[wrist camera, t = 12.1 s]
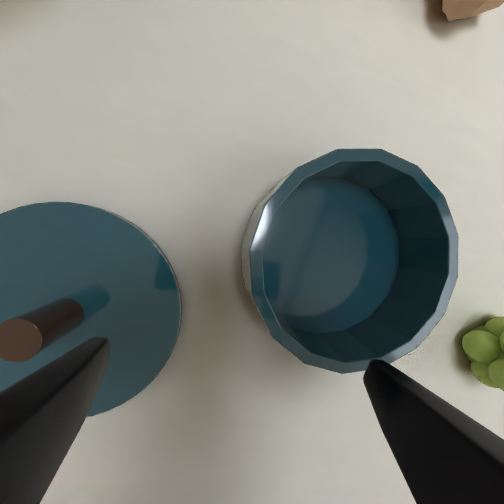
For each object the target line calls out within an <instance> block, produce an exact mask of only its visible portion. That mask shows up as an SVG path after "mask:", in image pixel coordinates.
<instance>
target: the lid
mask: <svg viewBox="0 0 504 504" xmlns="http://www.w3.org/2000/svg"><path fill="white" fill-rule="evenodd" d="M180 321H181V298H180V292H179V287H178V284H177V280H176V277H175V275H174V272H173V270H172V268H171V266H170V264H169V262H168V260H167V259H166V257H165V256H164V254H163V252H162V251H161V250H160V249H159V248H158V246H157V245H156V244H155V243H154V241H153V240H151V239H150V238H149V237H148V236H147V235H146V234H145V233H144V232H143V231H142V230H140V229H139V228H137V227H136V226H135V225H133V224H132V223H130V222H129V221H127V220H125V219H123V218H121V217H120V216H118V215H115V214H113V213H110V212H108V211H105V210H103V209H99V208H95V207H92V206H88V205H83V204H76V203H69V202H48V203H37V204H32V205H27V206H23V207H18V208H16V209H13V210H10V211H7V212H4V213H2V214H0V392H1V391H3V390H5V389H6V388H8V387H10V386H12V385H13V384H15V383H17V382H18V381H20V380H22V379H23V378H25V377H27V376H28V375H30V374H32V373H33V372H35V371H37V370H39V369H40V368H42V367H44V366H45V365H47V364H49V363H50V362H52V361H54V360H55V359H57V358H59V357H61V356H62V355H64V354H66V353H67V352H69V351H71V350H72V349H74V348H76V347H77V346H79V345H81V344H82V343H84V342H86V341H88V340H89V339H91V338H93V337H105V338H108V339H109V342H110V346H109V364H108V367H107V369H106V372H105V374H104V376H103V379H102V381H101V383H100V386H99V388H98V390H97V393H96V395H95V398H94V400H93V402H92V405H91V407H90V409H89V412H88V414H87V416H86V417H88V416H93V415H96V414H99V413H102V412H105V411H108V410H110V409H113V408H115V407H117V406H119V405H121V404H123V403H124V402H126V401H128V400H129V399H131V398H133V397H134V396H135V395H137V394H138V393H139V392H140V391H142V390H143V389H144V388H145V387H146V386H147V385H148V384H149V383H150V382H151V381H152V380H153V379H154V378H155V377H156V376H157V375H158V373H159V372H160V371H161V369H162V368H163V367H164V365H165V363H166V362H167V360H168V358H169V356H170V355H171V352H172V350H173V347H174V345H175V343H176V340H177V336H178V332H179V328H180Z"/></svg>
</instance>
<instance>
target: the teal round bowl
mask: <svg viewBox="0 0 504 504" xmlns="http://www.w3.org/2000/svg"><path fill="white" fill-rule="evenodd" d="M241 249H242V269H243V281H244V284H245V286H246V288H247V290H248V292H249V294H250V296H251V298H252V300H253V302H254V304H255V306H256V308H257V310H258V312H259V314H260V316H261V318H262V320H263V322H264V323H265V325H266V327H267V329H268V331H269V333H270V334H271V336H272V337H273V338H274V339H275V340H276V341H278V342H279V343H280V344H281V345H282V346H284V347H285V348H286V349H287V350H289V351H290V352H291V353H292V354H293V355H295V356H296V357H297V358H298V359H299V360H301V361H302V362H303V363H305V364H308V365H312V366H316V367H319V368H323V369H327V370H330V371H334V372H338V373H341V374H343V373H344V374H345V373H352V372H358V371H365V370H366V369H367V367H368V365H369V362H370V361H371V360H372V359H380V360H384V361H386V362H387V363H389V364H390V363H392V362H394V361H395V360H397V359H399V358H401V357H402V356H404V355H406V354H407V353H409V352H411V351H412V350H414V349H416V348H417V347H418V346H419V345H420V344H421V342H422V341H423V340H424V339H425V338H426V336H427V335H428V334H429V333H430V331H431V330H432V329H433V328H434V327H435V325H436V324H437V323H438V322H439V320H440V319H441V318H442V317H443V316H444V314H445V311H446V308H447V305H448V303H449V300H450V297H451V294H452V292H453V289H454V286H455V283H456V281H457V278H458V277H457V276H458V233H457V230H456V227H455V225H454V222H453V219H452V216H451V213H450V210H449V207H448V205H447V202H446V199H445V197H444V195H443V194H442V193H441V192H440V191H439V189H438V188H437V187H436V186H435V185H434V184H433V183H432V181H431V180H430V179H429V178H428V177H427V176H426V175H425V173H424V172H423V171H422V170H421V169H420V168H419V167H418V166H417V165H415V164H413V163H410V162H408V161H406V160H404V159H402V158H400V157H397V156H395V155H393V154H391V153H389V152H387V151H384V150H382V149H337V150H334V151H332V152H329V153H327V154H325V155H323V156H321V157H319V158H317V159H315V160H312V161H310V162H308V163H306V164H304V165H302V166H300V167H297V168H296V169H295V170H294V171H292V172H291V173H290V174H289V175H287V176H286V177H285V178H284V179H282V180H281V181H280V182H279V183H278V184H277V185H276V186H275V187H274V188H273V189H272V190H271V191H270V192H269V194H268V195H267V196H266V197H265V198H264V199H263V200H262V201H261V203H260V204H259V205H258V206H257V207H256V208H255V209H254V211H253V213H252V216H251V219H250V221H249V224H248V226H247V229H246V232H245V236H244V239H243V242H242V246H241Z"/></svg>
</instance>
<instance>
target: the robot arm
mask: <svg viewBox="0 0 504 504" xmlns="http://www.w3.org/2000/svg"><path fill="white" fill-rule="evenodd" d="M109 346H110V342H109V339H108V338H105V337H93V338H91V339H89V340H88V341H86V342H84V343H82V344H81V345H79V346H77V347H76V348H74V349H72V350H71V351H69V352H67V353H66V354H64V355H62V356H61V357H59V358H57V359H55V360H54V361H52V362H50V363H49V364H47V365H45V366H44V367H42V368H40V369H39V370H37V371H35V372H33V373H32V374H30V375H28V376H27V377H25V378H23V379H22V380H20V381H18V382H17V383H15V384H13V385H12V386H10V387H8V388H6V389H5V390H3V391H1V392H0V504H40V502H41V500H42V498H43V496H44V494H45V493H46V491H47V489H48V487H49V485H50V483H51V482H52V480H53V478H54V476H55V474H56V472H57V471H58V469H59V467H60V465H61V463H62V461H63V460H64V458H65V456H66V454H67V452H68V450H69V449H70V447H71V445H72V443H73V441H74V439H75V438H76V436H77V434H78V432H79V430H80V428H81V426H82V424H83V422H84V421H85V418H86V416H87V414H88V412H89V409H90V407H91V405H92V402H93V400H94V398H95V395H96V393H97V390H98V388H99V386H100V383H101V381H102V379H103V376H104V374H105V372H106V369H107V367H108V364H109ZM363 380H364V384H365V387H366V390H367V392H368V395H369V398H370V400H371V403H372V405H373V408H374V411H375V413H376V416H377V419H378V421H379V424H380V426H381V429H382V431H383V433H384V435H385V438H386V440H387V442H388V444H389V446H390V448H391V450H392V452H393V454H394V457H395V459H396V461H397V463H398V465H399V467H400V469H401V471H402V474H403V476H404V478H405V480H406V482H407V484H408V486H409V488H410V491H411V493H412V495H413V497H414V499H415V501H416V503H417V504H504V440H503V439H502V438H500V437H499V436H497V435H496V434H494V433H493V432H491V431H490V430H488V429H487V428H485V427H484V426H482V425H481V424H479V423H478V422H476V421H475V420H473V419H472V418H470V417H469V416H467V415H466V414H464V413H463V412H461V411H460V410H458V409H457V408H455V407H454V406H452V405H451V404H449V403H448V402H446V401H445V400H443V399H442V398H440V397H439V396H437V395H436V394H434V393H433V392H431V391H429V390H428V389H426V388H425V387H423V386H422V385H420V384H419V383H417V382H416V381H414V380H413V379H411V378H410V377H408V376H407V375H405V374H404V373H402V372H401V371H399V370H398V369H396V368H395V367H393V366H392V365H390V364H389V363H387V362H386V361H384V360H380V359H372V360H371V361H370V362H369V365H368V367H367V369H366V371H365V374H364V377H363Z"/></svg>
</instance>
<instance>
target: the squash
mask: <svg viewBox="0 0 504 504" xmlns="http://www.w3.org/2000/svg"><path fill="white" fill-rule="evenodd" d="M503 2H504V0H443V4H442V12H443V13H445V14H446V16H447V19H448V21H451V20H455V19H463V18H470V17H472V16H475V15H478V14H480V13H483V12H486V11H488V10H491V9H494V8H496V7H499V6H500V5H501V4H502V3H503Z"/></svg>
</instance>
